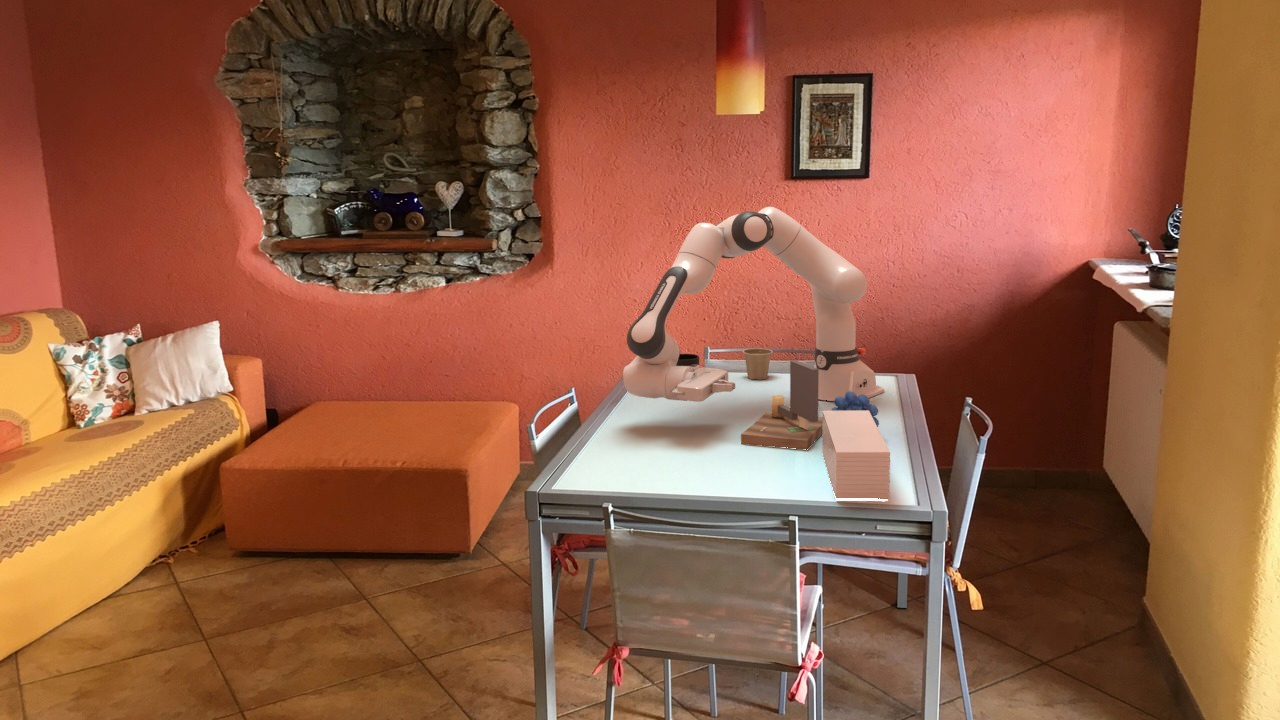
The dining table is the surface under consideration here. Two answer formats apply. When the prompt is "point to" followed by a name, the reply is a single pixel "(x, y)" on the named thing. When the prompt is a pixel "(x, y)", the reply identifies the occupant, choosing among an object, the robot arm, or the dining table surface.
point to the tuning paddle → (800, 395)
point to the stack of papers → (855, 455)
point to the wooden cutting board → (781, 432)
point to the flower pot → (757, 362)
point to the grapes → (855, 404)
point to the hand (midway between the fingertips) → (733, 387)
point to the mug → (688, 360)
